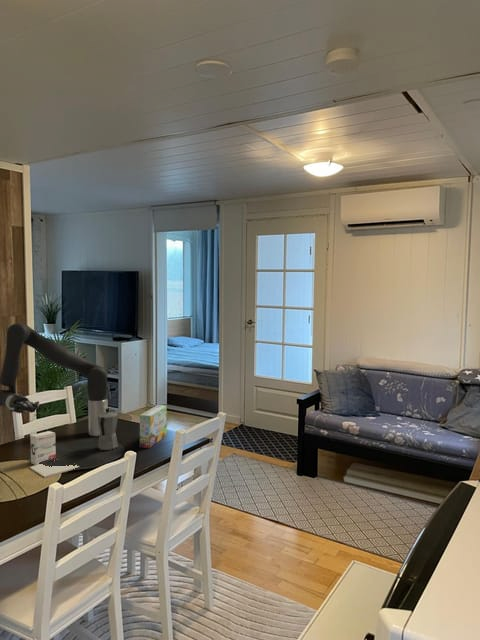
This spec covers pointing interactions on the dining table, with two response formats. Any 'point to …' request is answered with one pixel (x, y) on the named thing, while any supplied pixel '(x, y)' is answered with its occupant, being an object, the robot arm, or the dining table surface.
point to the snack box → (153, 426)
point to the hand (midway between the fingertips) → (33, 409)
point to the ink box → (42, 447)
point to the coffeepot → (107, 430)
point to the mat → (51, 469)
